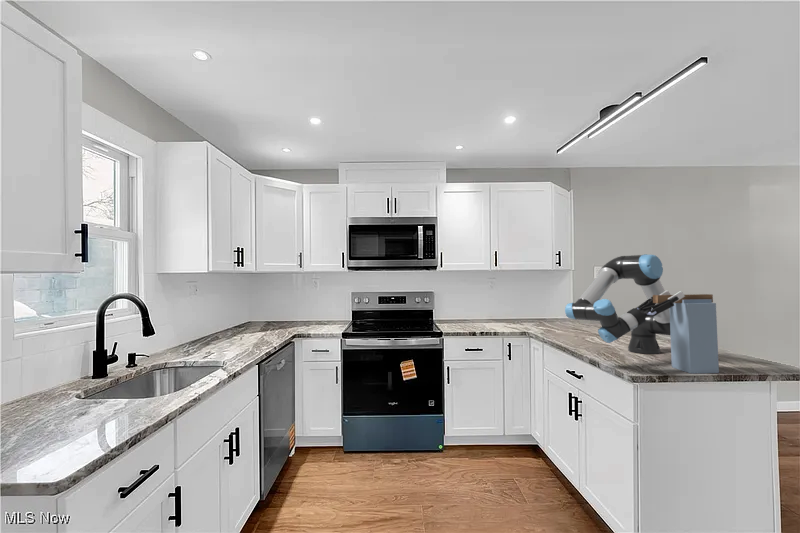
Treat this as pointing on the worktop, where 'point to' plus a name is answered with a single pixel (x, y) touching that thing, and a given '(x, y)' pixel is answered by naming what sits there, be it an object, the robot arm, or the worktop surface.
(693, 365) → the tall blue prism
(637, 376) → the worktop surface
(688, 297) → the brown block
